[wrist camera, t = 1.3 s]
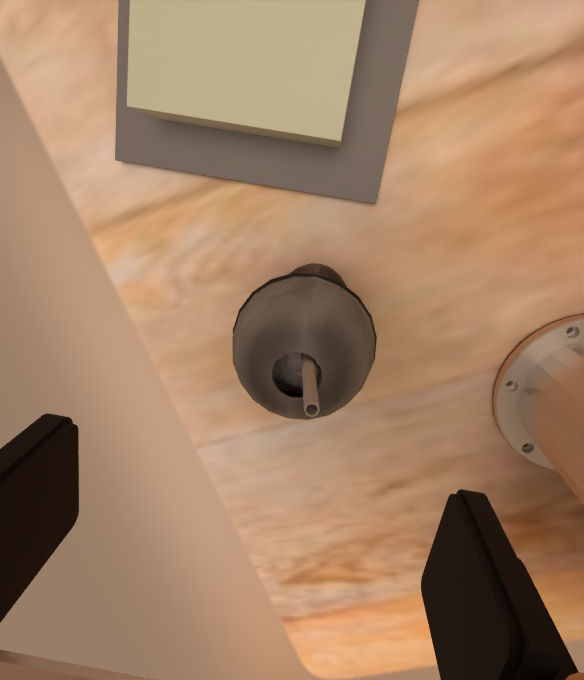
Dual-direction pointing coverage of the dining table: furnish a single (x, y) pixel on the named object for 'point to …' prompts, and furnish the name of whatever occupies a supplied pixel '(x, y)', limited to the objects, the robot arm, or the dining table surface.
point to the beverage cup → (303, 343)
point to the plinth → (285, 155)
